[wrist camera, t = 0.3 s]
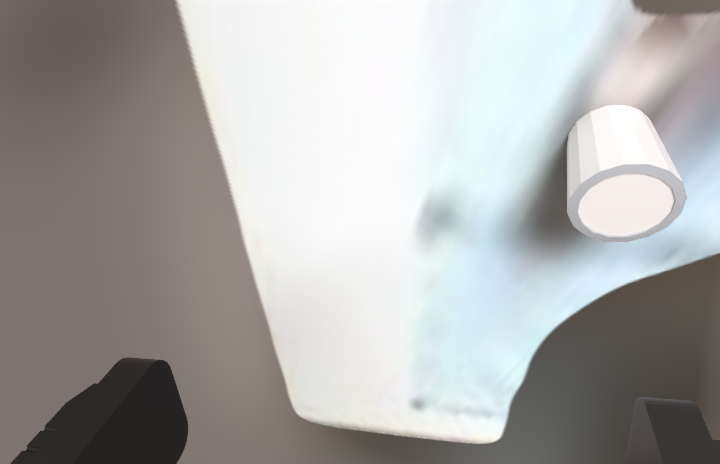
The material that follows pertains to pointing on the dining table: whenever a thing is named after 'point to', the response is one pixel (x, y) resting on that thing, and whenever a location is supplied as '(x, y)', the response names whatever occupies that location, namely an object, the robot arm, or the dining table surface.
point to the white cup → (620, 176)
